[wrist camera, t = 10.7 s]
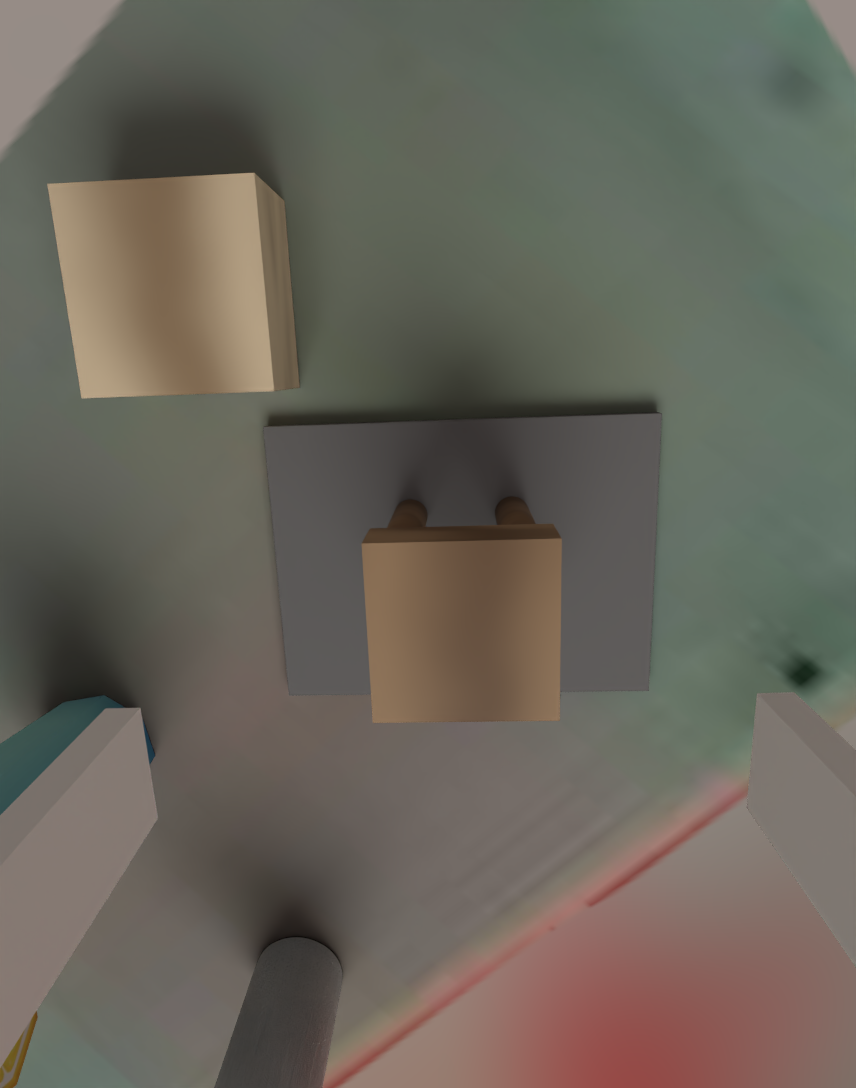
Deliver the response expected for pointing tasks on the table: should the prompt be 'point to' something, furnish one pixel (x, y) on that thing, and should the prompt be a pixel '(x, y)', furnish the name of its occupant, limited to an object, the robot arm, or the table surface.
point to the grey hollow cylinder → (285, 1019)
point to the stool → (463, 618)
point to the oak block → (177, 285)
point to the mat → (468, 500)
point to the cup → (16, 767)
